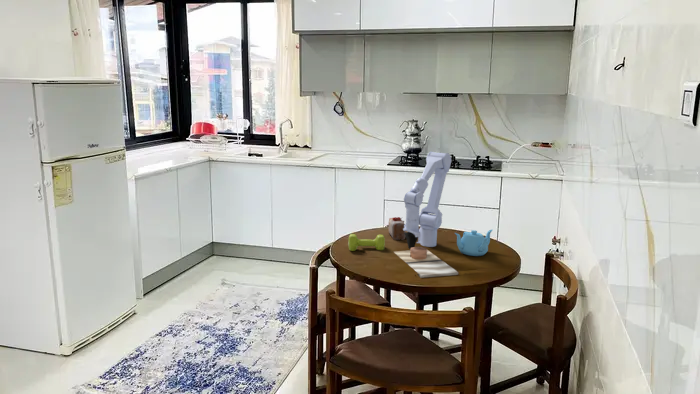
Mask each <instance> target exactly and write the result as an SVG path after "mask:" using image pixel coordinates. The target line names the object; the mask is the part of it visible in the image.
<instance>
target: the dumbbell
mask: <svg viewBox="0 0 700 394" xmlns="http://www.w3.org/2000/svg"><path fill="white" fill-rule="evenodd" d="M347 245H348V250H349V251H350V252H355V251H357V249H358V248H359V247H374V248H375V249H376V250H377V251H385V246H386V240H385V236H384V234H377V235H376V237H375V238H374V239H369V238H368V239H367V238H366V239H361V238H358V236H357V234H355V233H350V234H349V236H348V243H347Z"/></svg>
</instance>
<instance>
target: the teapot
mask: <svg viewBox="0 0 700 394" xmlns="http://www.w3.org/2000/svg"><path fill="white" fill-rule="evenodd" d="M492 232H493V229H490V230H488V231H487V232H486V235H485V236H484V235H483V234H482V233H480V232H478V230H475V229H471V231H464V232H463V233H462V237H461V235H460V234H459V233H457V232H454V234H455V236H456V246H457V247H458V248H457V249H458V251H460V253H461V254H464V255H465V256H471V257H472V256H473V257H481V256H484V255H485V254H486V253H487V252H488V251H489V244H490V242H491V233H492Z"/></svg>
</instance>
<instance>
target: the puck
mask: <svg viewBox="0 0 700 394" xmlns="http://www.w3.org/2000/svg"><path fill="white" fill-rule="evenodd" d="M427 250H428V249H427V248H426V247H424V246H423V247H422V246H415V247H412V248H411V249H409V251H410V257H411V258H413V259H419V260H421V259H426V258H427Z"/></svg>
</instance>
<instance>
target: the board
mask: <svg viewBox="0 0 700 394" xmlns="http://www.w3.org/2000/svg"><path fill="white" fill-rule="evenodd" d="M393 253H394V254H395V255H396V256H397V257H398V258H399V259H401V260H402V261H403V262H405V264H407V265H408V266H409V267H410V268H411V269H413V270H414V271H415V272H416V275H417V276H418V277H419V278H420V279H422V278H423V279H424V278H435V277H445V276H447V277H448V276H457V275H459V271H457V269H455V268H453V267H452V266H451V265H449V264H447V263H446V262H445V261H443V260H442V259H441V258H440V257H438V256H437V255H435V254H434V253H432V252H431V251H430V250H428V249H427V258H426V259H421V260H419V259H413V258H411V257H410V250H399V251H397V250H395V251H393Z"/></svg>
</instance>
